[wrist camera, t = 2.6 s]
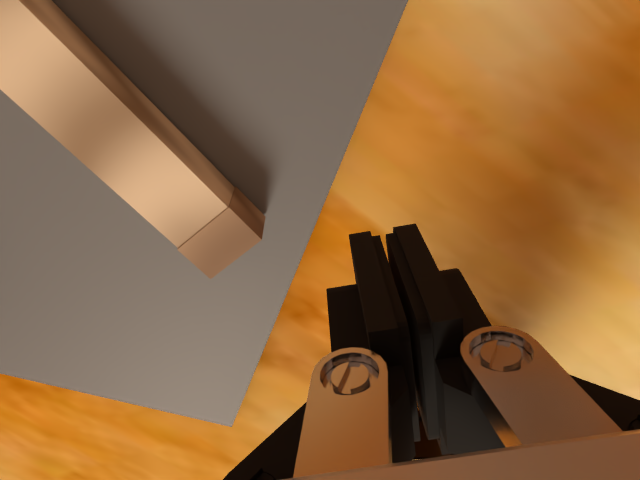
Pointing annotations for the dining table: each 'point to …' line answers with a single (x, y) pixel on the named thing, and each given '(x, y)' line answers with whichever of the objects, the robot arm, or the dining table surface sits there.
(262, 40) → the charcoal board
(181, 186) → the beech link
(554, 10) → the dining table surface
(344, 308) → the robot arm
